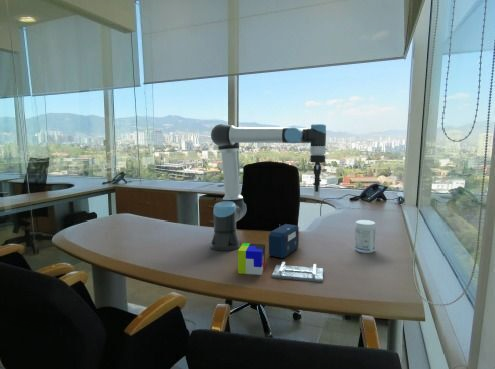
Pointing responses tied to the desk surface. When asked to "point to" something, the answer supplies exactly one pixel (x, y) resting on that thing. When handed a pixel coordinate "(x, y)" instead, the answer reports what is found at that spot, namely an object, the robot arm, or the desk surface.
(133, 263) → the desk surface
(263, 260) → the puzzle toy
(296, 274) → the rail plate
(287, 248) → the radio
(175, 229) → the desk surface
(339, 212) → the desk surface
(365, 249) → the supplement tub
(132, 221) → the desk surface
